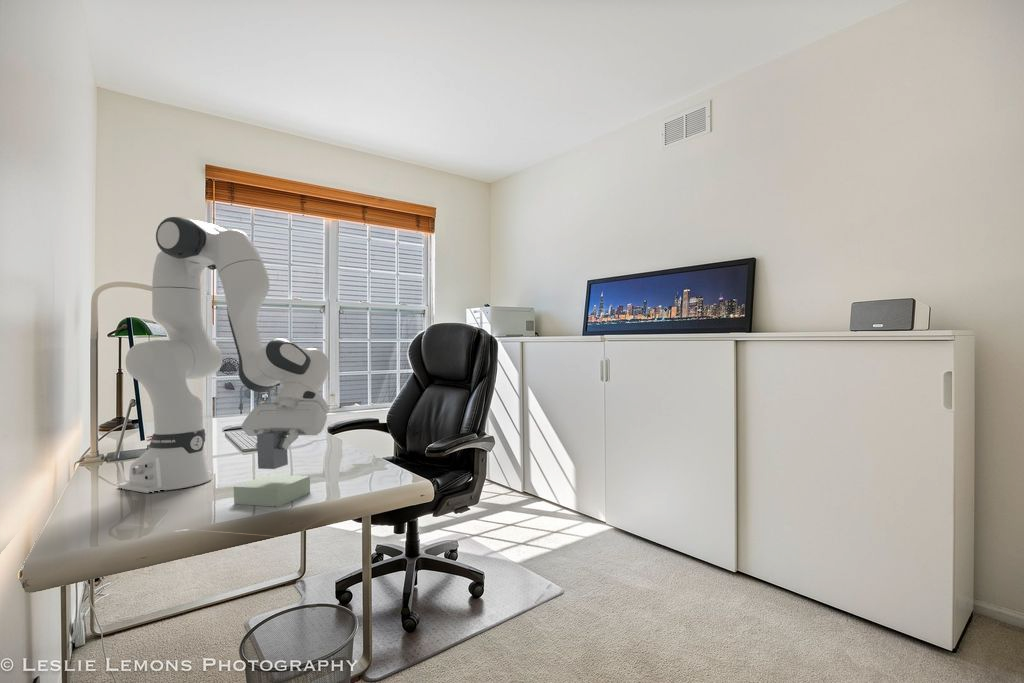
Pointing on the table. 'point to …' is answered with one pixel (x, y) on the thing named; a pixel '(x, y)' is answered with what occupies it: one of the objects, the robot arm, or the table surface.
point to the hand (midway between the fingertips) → (270, 448)
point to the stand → (271, 490)
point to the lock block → (271, 450)
